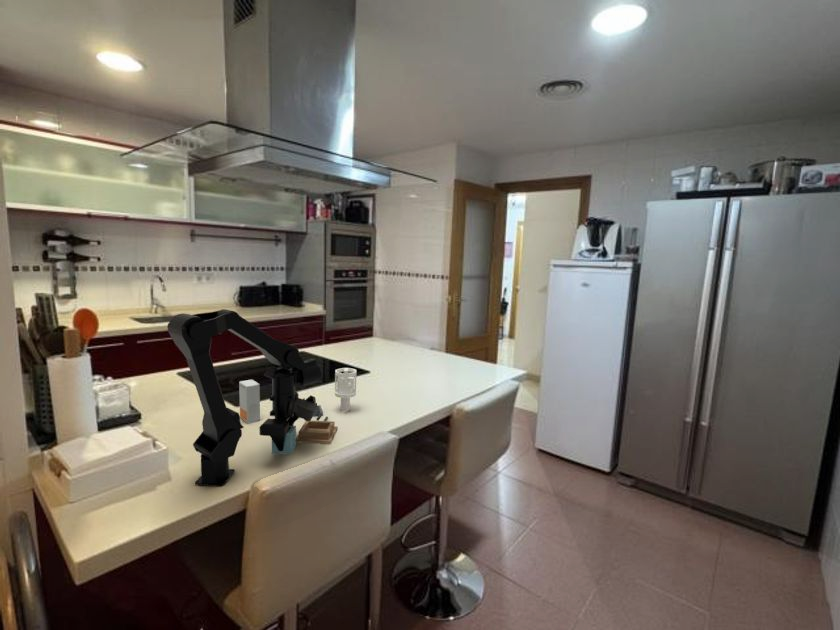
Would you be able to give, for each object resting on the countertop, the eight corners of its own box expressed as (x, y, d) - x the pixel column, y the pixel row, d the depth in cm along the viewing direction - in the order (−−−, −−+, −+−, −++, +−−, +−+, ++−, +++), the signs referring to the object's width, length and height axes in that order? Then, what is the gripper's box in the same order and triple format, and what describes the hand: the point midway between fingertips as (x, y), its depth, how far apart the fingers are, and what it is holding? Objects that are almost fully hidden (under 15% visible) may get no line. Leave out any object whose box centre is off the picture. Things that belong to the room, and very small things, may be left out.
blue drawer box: (290, 454, 108) (290, 432, 107) (271, 453, 108) (271, 431, 107) (295, 446, 112) (295, 425, 112) (277, 445, 112) (277, 424, 111)
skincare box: (239, 417, 130) (238, 381, 128) (252, 414, 132) (252, 378, 131) (247, 424, 125) (246, 386, 123) (260, 420, 128) (260, 383, 126)
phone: (322, 415, 134) (322, 412, 134) (277, 419, 129) (277, 416, 129) (320, 408, 141) (320, 404, 140) (277, 411, 136) (277, 408, 136)
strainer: (334, 414, 136) (335, 370, 134) (334, 406, 143) (335, 364, 140) (356, 413, 137) (357, 370, 135) (355, 405, 144) (356, 364, 142)
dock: (330, 444, 115) (330, 434, 114) (294, 442, 115) (294, 433, 114) (337, 429, 125) (337, 420, 124) (304, 427, 125) (304, 418, 124)
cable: (323, 426, 126) (323, 424, 126) (312, 425, 126) (312, 423, 126) (331, 412, 137) (331, 410, 137) (321, 412, 137) (321, 410, 137)
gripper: (304, 404, 99) (304, 465, 101) (322, 381, 117) (322, 432, 119) (258, 402, 98) (259, 463, 101) (283, 379, 117) (284, 431, 119)
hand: (284, 446), depth 110 cm, fingers closed on blue drawer box, 4 cm apart
